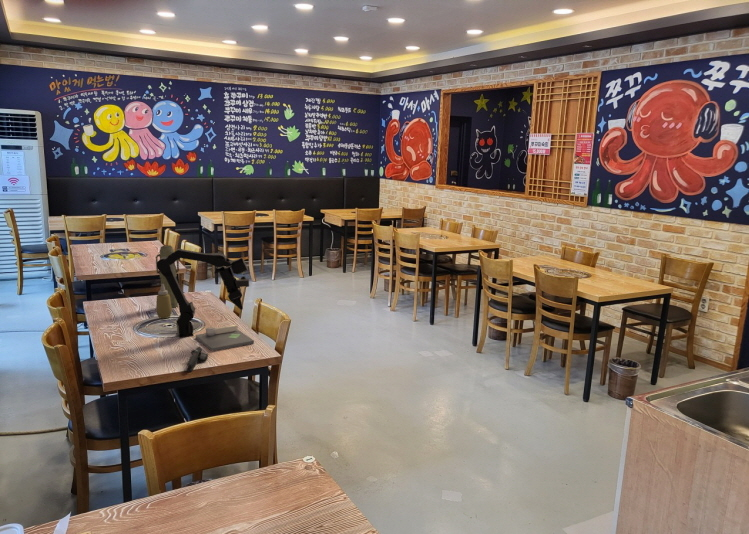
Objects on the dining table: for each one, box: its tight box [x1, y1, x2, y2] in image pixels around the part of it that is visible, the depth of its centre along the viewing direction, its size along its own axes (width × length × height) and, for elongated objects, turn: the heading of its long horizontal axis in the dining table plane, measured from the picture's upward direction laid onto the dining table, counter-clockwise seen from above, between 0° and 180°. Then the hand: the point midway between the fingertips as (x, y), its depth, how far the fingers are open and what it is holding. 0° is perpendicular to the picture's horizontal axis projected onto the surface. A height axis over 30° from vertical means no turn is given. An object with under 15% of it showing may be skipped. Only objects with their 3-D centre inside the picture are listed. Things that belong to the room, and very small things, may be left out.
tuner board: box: [195, 329, 255, 352], centre depth 265 cm, size 20×22×2 cm
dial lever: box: [205, 324, 239, 336], centre depth 271 cm, size 15×4×3 cm, turn 125°
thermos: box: [155, 244, 180, 309], centre depth 315 cm, size 9×12×35 cm
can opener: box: [186, 346, 209, 373], centre depth 235 cm, size 18×7×6 cm, turn 179°
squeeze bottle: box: [155, 283, 173, 319], centre depth 298 cm, size 8×8×18 cm
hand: (241, 307), depth 274 cm, fingers open, 9 cm apart
